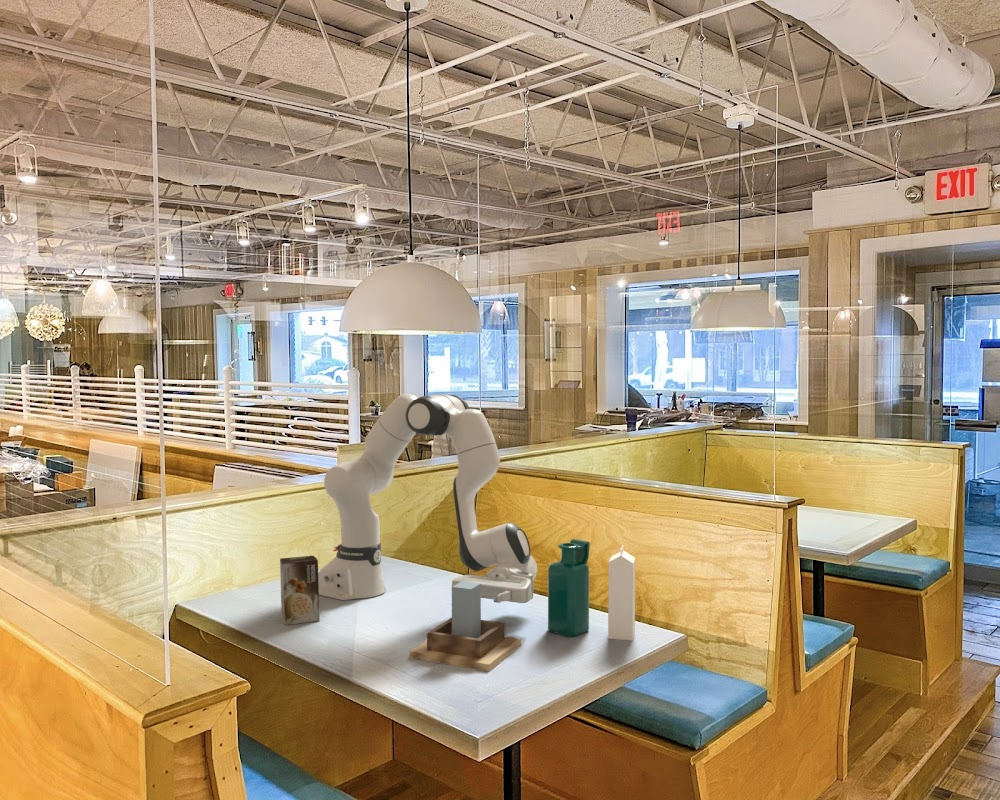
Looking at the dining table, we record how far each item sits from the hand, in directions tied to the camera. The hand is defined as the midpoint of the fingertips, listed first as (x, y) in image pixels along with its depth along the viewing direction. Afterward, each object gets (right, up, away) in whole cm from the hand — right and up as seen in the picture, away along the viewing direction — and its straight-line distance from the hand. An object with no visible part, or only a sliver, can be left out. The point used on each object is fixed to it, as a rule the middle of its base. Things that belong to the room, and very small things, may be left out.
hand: (478, 596), depth 192 cm
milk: (+35, -11, +5) cm, 37 cm away
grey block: (-3, -10, -6) cm, 12 cm away
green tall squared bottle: (+23, -11, +9) cm, 27 cm away
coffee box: (-47, -10, +18) cm, 51 cm away
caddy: (-3, -11, -6) cm, 13 cm away
